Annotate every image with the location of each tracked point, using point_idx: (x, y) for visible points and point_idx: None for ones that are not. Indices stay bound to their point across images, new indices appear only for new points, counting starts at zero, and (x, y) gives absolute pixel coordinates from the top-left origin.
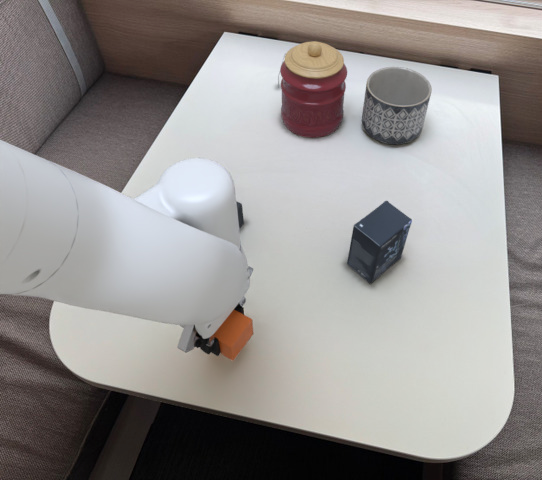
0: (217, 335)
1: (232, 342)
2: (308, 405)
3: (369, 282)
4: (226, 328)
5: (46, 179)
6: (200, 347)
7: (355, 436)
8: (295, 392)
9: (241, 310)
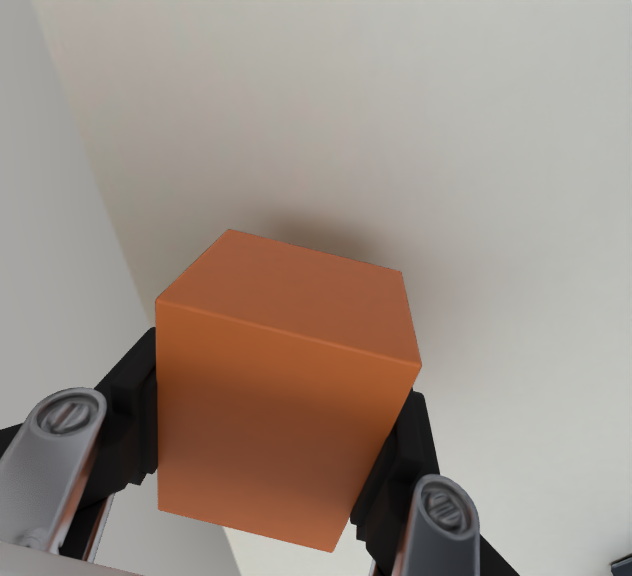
0: (176, 458)
1: (182, 511)
2: None
3: (614, 571)
4: (233, 484)
5: None
6: (143, 338)
7: (229, 536)
8: None
9: (357, 535)
